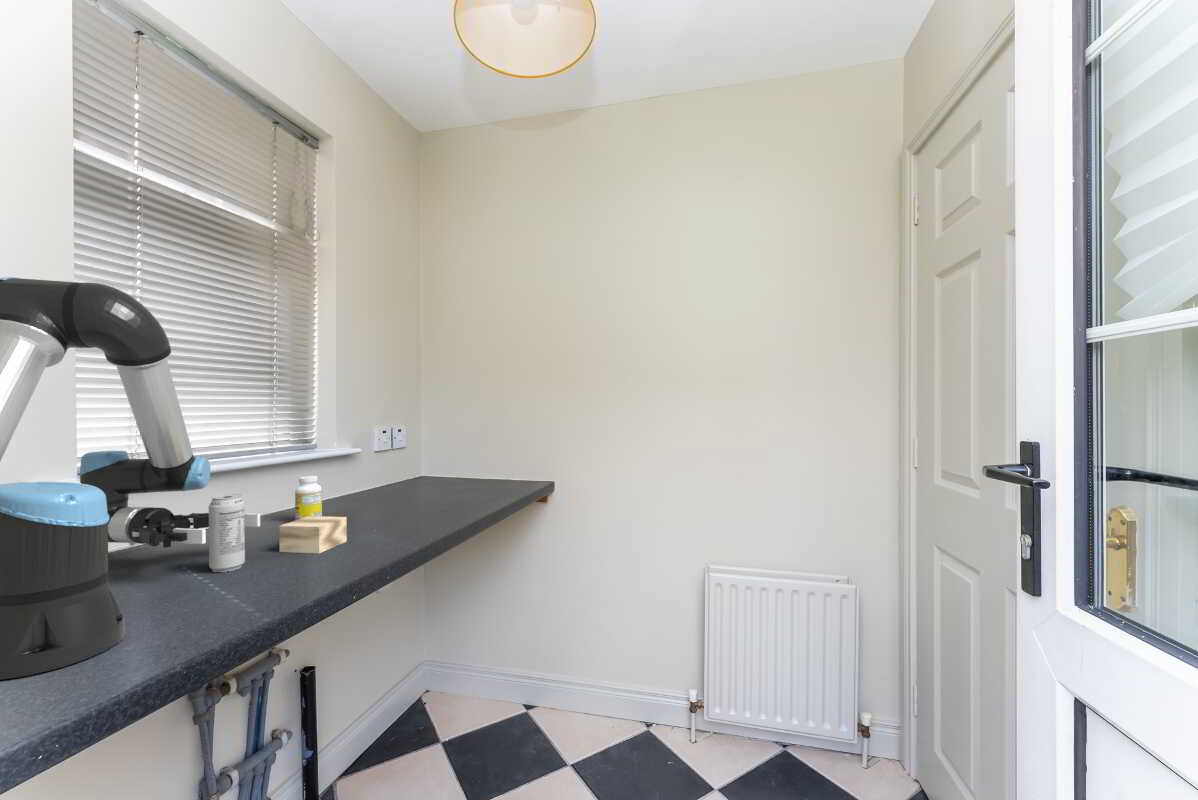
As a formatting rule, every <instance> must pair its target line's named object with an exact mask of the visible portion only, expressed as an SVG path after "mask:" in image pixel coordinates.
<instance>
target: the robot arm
mask: <svg viewBox="0 0 1198 800" xmlns="http://www.w3.org/2000/svg"><path fill="white" fill-rule="evenodd" d="M70 348H72V349H73V348H74V349H75V348H76V349H77V348H79V349H82V348H83V349H84V348H85V349H86V348H87V349H94V348H95V349H99V350H101V351H102V352H103V353H104V356H105V359H106V361H107V362H108V363H109V364H112V366H116V370H117V372H118V375H119V378H120V381H121V383H122V386H123V388H124V392H125V395H126V397H127V399H128V403H129V406H130V409H131V412H132V414H133V417H134V420H135V423H136V426H137V428H138V431H139V435H140V438H141V440H142V443H143V445H144V449H145V452H146V455H147V457H148V458H130V457H129V454H128V452H127V451H126V450H103V451H91V452H87V453H84V454H83V455H82V456H81V458H80V468H79V474H78V476H79V482H67V481H37V482H35V481H34V482H29V481H25V482H20V481H19V482H10V483H9V482H7V483H1V484H0V680H8V679H16V678H21V677H22V678H23V677H27V676H28V677H29V676H31V675H37V674H41V673H45V672H49V671H52V670H56V669H60V668H64V667H68V666H69V665H70V666H71V665H72V664H76V663H79V662H81V661H85V660H87V659H90V658H92V657H95V656H97V655H100V654H101V653H103V652H105V651H107V650H109V649H111V648H113V647H114V646H116V645H117V644H119V643H120V642H121V641H122V640H123V639H124V637H126V636H125V635H126V621H125V617H124V615H123V614H122V612H121V609H120V607H119V605H118V603H117V601H116V599H115V597H114V594H113V593H112V591H111V588H110V586H109V543H118V544H120V543H121V544H122V543H123V544H126V543H127V544H129V545H130V546H135V545H136V544H145V545H148V546H150V547H157V546H159V545H160V543H162V547H163V548H165V549H166V548H170V547H172V543H173V544H189V545H190V544H192V545H193V544H195V545H203V544H206V543H207V540H206V538H207V537H206V536H207V533H206V532H207V531H206V528H209V512H203V513H202V512H201V513H199V512H198V513H197V512H196V513H195V512H192V513H189V514H186V515H185V514H184V515H183V514H174V513H173V512H172V511H171V510H170V509H168V508H165V507H152V506H151V507H149V506H129V496H130V495H132V494H133V495H134V494H147V493H149V494H150V493H166V492H169V493H170V492H188V491H193V490H194V491H195V490H202V489H204V488H206V487H207V485H208V484H209V481H210V479H211V478H210V477H211V464H210V460H209V459H208V457H206V456H198V455H195V456H194V454H193V453H194V452H193V449H192V446H191V442H190V437H189V435H188V430H187V426H186V424H185V419H184V416H183V413H182V412H183V411H182V409H181V405H180V402H179V399H178V393H177V391H176V387H175V383H174V381H173V377H172V373H171V369H170V366H169V362H168V359H169V358H170V356H171V355H172V349H171V344H170V341H169V338H168V336H167V334H166V332H165V330H164V328H163V326H162V325H161V323H160V322H159V321H158V319H157V318H156V317H155V316H154V315H153V313H152V312H151V311H150V310H149V309H147V307H145V306H144V305H143V304H142V303H141V302H140V301H138V300H137V299H136V298H134V297H133V296H131V295H130V294H129V293H127V292H124V291H122V290H121V289H118V288H116V287H113V286H110V285H108V284H103V283H97V282H80V281H79V282H77V281H66V280H65V281H63V280H50V279H49V280H48V279H32V278H21V277H14V276H12V277H11V276H9V277H8V276H7V277H0V462H1V461H2V459H3V457H4V455H5V452H6V451H7V448H8V446H9V444H10V443H11V440H12V438H13V436H14V434H15V432H16V430H17V428H18V425H19V423H20V421H21V419H22V417H23V415H24V413H25V411H26V409H27V406H28V404H29V402H30V401H31V399H32V396H33V394H34V392H35V390H36V388H37V386H38V383H39V382H40V379H41V377H42V375H43V373H44V371H45V369H46V368H49V367H53V366H56V365H57V364H59V363H60V362H62V360H64V357H65V355H66V354H67V351H68V349H70ZM80 483H81V484H80ZM244 516H245V528H246V527H253V528H257V527H261V513H246V512H244ZM191 526H192V527H191Z"/></svg>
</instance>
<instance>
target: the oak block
mask: <svg viewBox="0 0 1198 800" xmlns="http://www.w3.org/2000/svg"><path fill="white" fill-rule="evenodd" d="M347 521H348V520H347V516H324V515H322V516H308V517H305V518H302V519H299V520H296V519H295V520H293V521H290V522H287V523H284V524H281V525H279V526H278V527H279V528H278V531H279V533H278V535H279V536H278V537H279V540H278V541H279V542H278V544H279V553H296V554H299V553H300V554H321V553H323V552H325V551H329V550H330V549H333V548H336V547H337V546H340V545H342V544H344V543H346V542H347V540H348V534H347V533H348V530H347V529H348V527H347V526H348V524H347Z"/></svg>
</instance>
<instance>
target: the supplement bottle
mask: <svg viewBox="0 0 1198 800" xmlns="http://www.w3.org/2000/svg"><path fill="white" fill-rule="evenodd" d="M318 478H319V477H318V476H317V475H305V476H300V477H299V478H298V483H299V485H298V486H297V487H295V489H294V493H295V494H294V496H295V497H294V506H295V507H294V508H295V509H294V510H295V514H294V515H295V516H294V517H295V518H294V519H295V521H296V520H299V519H302V518H305V517H308V516H323V503H322V502H323V499H322V497H323V496H322V490H323V489H322V486H321V485H319V484H318V480H319V479H318Z"/></svg>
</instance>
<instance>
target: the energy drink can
mask: <svg viewBox="0 0 1198 800" xmlns="http://www.w3.org/2000/svg"><path fill="white" fill-rule="evenodd" d="M241 496H242V495H241V494H240V493H239V494H235V493H232V494H231V493H230V494H220V495H216V496H212V497H211V498H212V500H211V502H210V503H209V505H208V513H209V527H208V567H209V568H210V569H211V571H212V572H213V573H216V572H221V573H228V572H227V571H229V572H233V571H237V570H240V569H241V568H242V567H243V564H244V563H246V546H245V544H246V543H245V542H246V541H245V539H246V538H245V537H246V536H245V535H246V534H245V531H246V526H245V516H244V513H245V501H244V500H243V498H242V497H241ZM236 569H237V570H236Z"/></svg>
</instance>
